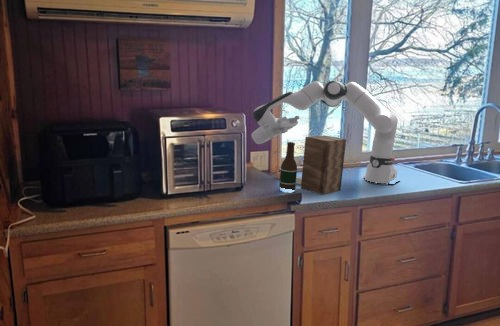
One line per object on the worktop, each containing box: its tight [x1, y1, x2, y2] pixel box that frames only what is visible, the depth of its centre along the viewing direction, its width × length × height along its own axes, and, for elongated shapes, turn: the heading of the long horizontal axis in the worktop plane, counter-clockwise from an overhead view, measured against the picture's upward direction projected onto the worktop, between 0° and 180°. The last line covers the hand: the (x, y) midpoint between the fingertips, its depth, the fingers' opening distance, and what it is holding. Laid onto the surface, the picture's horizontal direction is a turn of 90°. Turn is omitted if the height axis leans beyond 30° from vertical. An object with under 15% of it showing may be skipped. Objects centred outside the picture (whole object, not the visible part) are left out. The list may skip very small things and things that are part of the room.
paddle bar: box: [275, 171, 302, 186], centre depth 241 cm, size 2×20×3 cm, turn 46°
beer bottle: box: [278, 141, 298, 191], centre depth 218 cm, size 8×8×24 cm
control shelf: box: [300, 134, 347, 195], centre depth 227 cm, size 16×13×26 cm
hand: (292, 117), depth 237 cm, fingers open, 8 cm apart
